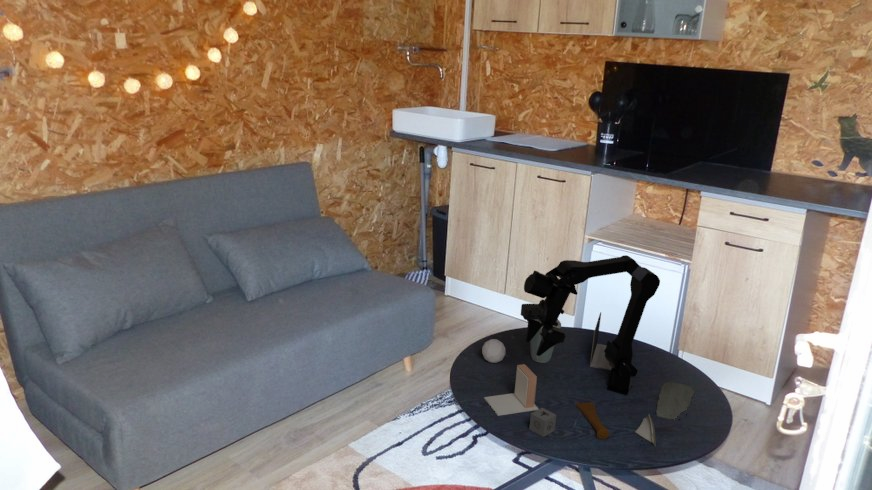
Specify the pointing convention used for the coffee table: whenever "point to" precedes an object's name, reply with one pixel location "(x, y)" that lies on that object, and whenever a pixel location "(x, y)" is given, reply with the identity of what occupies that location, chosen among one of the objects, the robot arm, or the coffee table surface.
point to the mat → (507, 404)
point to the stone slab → (673, 400)
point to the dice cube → (542, 422)
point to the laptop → (598, 351)
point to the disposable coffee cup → (535, 344)
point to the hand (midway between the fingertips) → (532, 348)
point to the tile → (525, 386)
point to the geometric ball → (493, 351)
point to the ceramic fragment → (647, 430)
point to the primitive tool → (593, 419)
